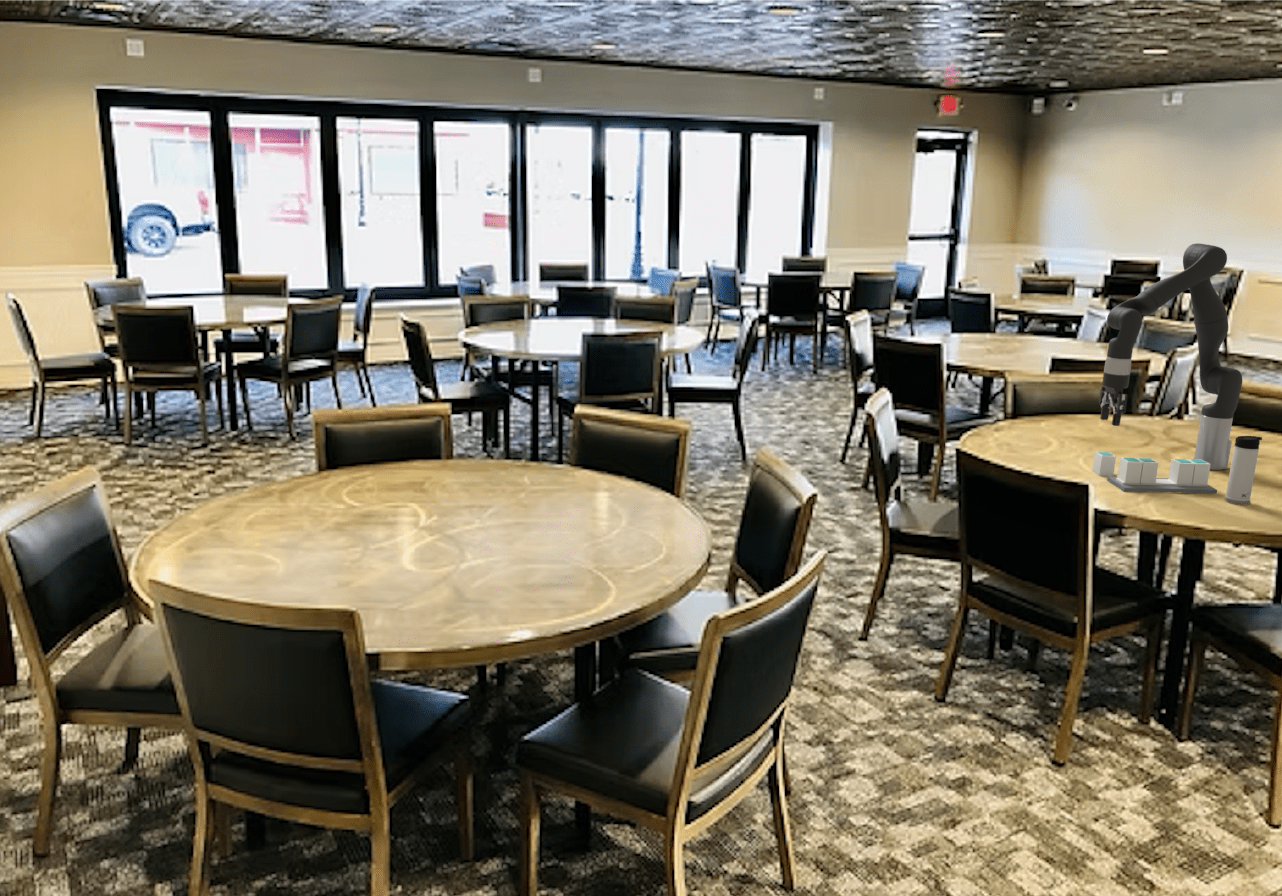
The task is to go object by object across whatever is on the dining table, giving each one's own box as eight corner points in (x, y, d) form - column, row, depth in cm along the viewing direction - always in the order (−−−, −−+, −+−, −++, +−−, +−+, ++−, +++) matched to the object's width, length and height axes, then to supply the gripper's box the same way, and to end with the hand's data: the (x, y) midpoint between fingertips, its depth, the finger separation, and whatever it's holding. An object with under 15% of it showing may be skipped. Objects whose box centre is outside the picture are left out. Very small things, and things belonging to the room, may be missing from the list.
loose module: (1106, 471, 339) (1108, 451, 338) (1113, 476, 334) (1116, 455, 332) (1092, 471, 339) (1094, 451, 338) (1099, 475, 334) (1101, 455, 332)
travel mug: (1248, 506, 305) (1260, 439, 300) (1223, 502, 309) (1234, 435, 304) (1252, 501, 310) (1263, 435, 305) (1227, 497, 314) (1238, 432, 309)
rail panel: (1196, 482, 329) (1200, 456, 327) (1216, 493, 317) (1221, 466, 315) (1106, 480, 329) (1110, 453, 327) (1123, 491, 317) (1127, 464, 315)
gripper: (1139, 376, 322) (1131, 428, 326) (1119, 368, 335) (1111, 418, 339) (1114, 375, 322) (1107, 427, 326) (1095, 367, 335) (1088, 417, 339)
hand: (1109, 422), depth 332 cm, fingers open, 8 cm apart
